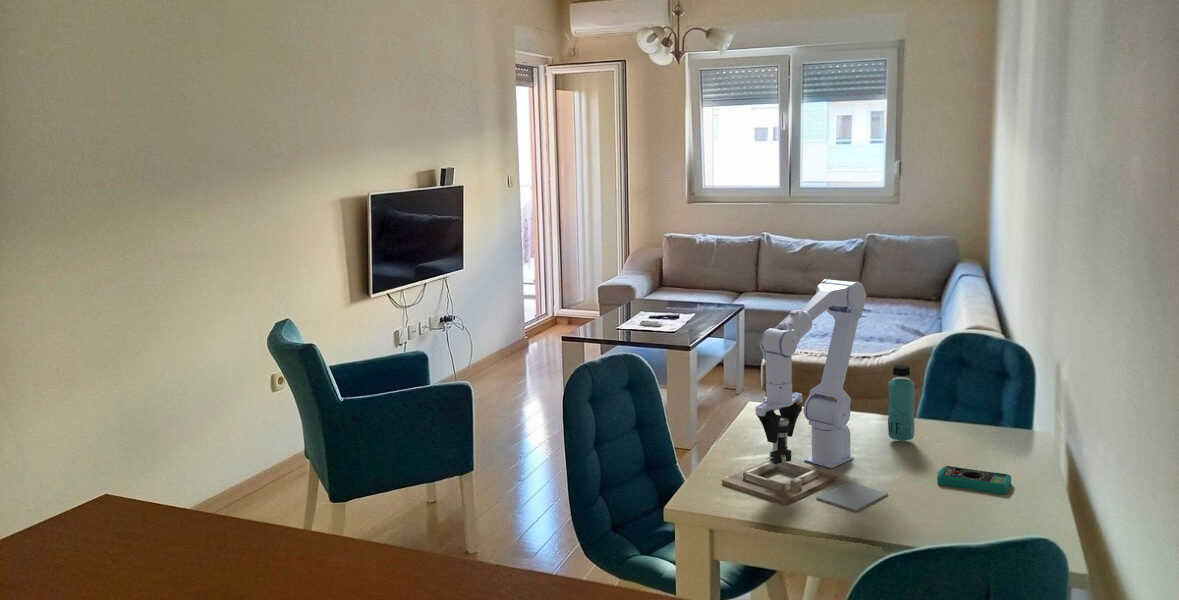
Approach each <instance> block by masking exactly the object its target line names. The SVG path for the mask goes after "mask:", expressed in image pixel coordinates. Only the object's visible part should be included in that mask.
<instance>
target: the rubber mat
mask: <svg viewBox="0 0 1179 600" xmlns="http://www.w3.org/2000/svg"><path fill="white" fill-rule="evenodd" d="M888 495H889V493H888V492H885V491H881V490H878V489H876V488H875V489H874V488H871V487H868V486H864V485H860V484H858V483H854V482H850V481H847V482H844V483H843V484H840V485H839V486H837V487H834V488H833V489H831V490H829V491H826V492H824V493H822V494H820V495H818V496H816V500H818V501H821V502H824V503H827V504H831V505H834V506H835V507H836V506H837V507H840V508H843V509H846V510H849V511H852V512H856V513H857V512H859V511H860V510H863V509H865V508H867V507H869V506H870V505H872V504H875V503H877V502H879V501H880V500H882V499H884V498H885V497H888Z"/></svg>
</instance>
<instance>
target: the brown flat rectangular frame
mask: <svg viewBox="0 0 1179 600" xmlns="http://www.w3.org/2000/svg"><path fill="white" fill-rule="evenodd" d="M767 461H770V459H767V460H766V461H763V462H761V463H758V464H757V465H754V466H752V467H750V468H747V469H744V470H742V471H740V472H738V473H735V474H733V475H730V476H727V477H726V478H723V479H721V485H724V486H727V487H731V488H733V489H736V490H739V491H742V492H745V493H748V494H751V495H754V496H758V497H760V498H763V499H766V500H769V501H772V502H775V503H778V504H781V505H784V506H786V505H789V504H790V503H793V502H795V501H797V500H799V499H801V498H803V497H805V496H807V495H809V494H811V493H813V492H816V491H818V490H820V489H822V488H825V487H826V486H828V485H831V484H833V483H835V482H837V481H840V480H841V479H840V474H837V473H833V472H831V471H826V470H823V469H819V468H816V467H813V466H808V465H805V464H802V463H799V462H795V461H792V460H791V461H790V462H788V461H787V462H785V463H779V464H773V463H766V462H767ZM777 471H781V472H784V473H786V474H790V475H791V474H792V475H794V476H796V477H795V478H792V479H790V480H788V481H786V482H783V483H782V482H779V481H776V480H773V479H769V478H767V477H765V476H767V475H770V474H771V473H774V472H777Z"/></svg>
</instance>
